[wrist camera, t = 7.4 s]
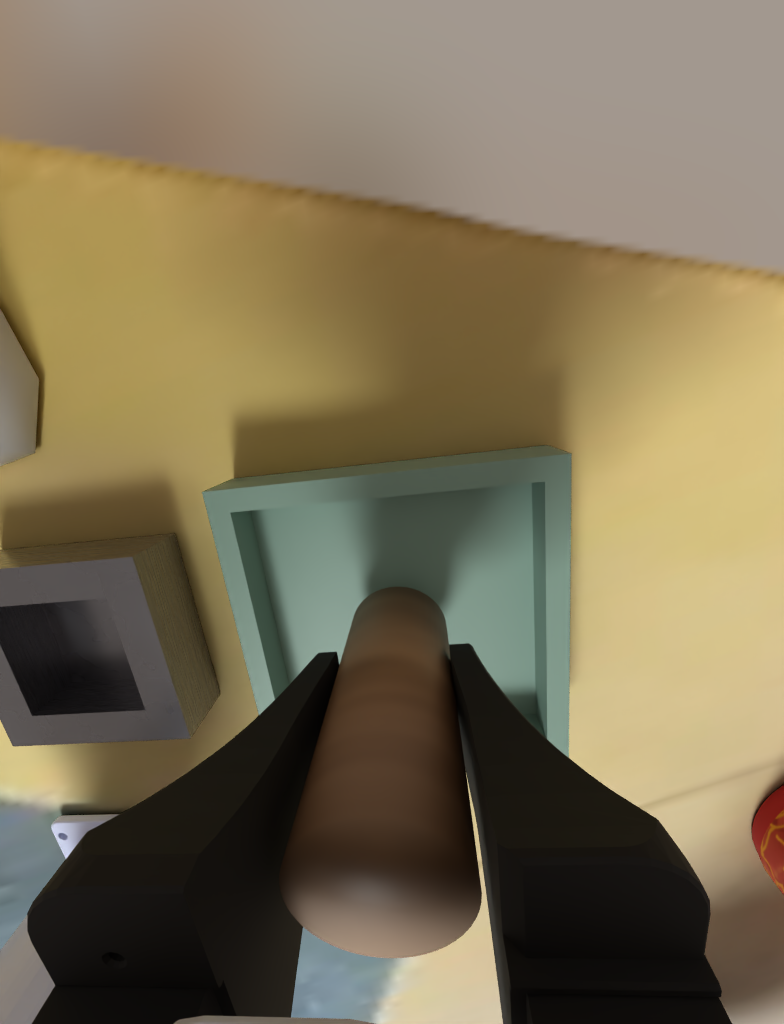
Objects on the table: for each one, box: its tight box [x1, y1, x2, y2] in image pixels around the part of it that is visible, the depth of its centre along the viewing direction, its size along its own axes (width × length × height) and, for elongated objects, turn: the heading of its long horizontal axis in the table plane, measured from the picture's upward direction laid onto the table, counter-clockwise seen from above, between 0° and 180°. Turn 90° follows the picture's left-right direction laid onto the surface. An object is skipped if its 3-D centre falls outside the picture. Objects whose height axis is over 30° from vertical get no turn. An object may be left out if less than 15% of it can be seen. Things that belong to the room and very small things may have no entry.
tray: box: [202, 445, 571, 758], centre depth 15 cm, size 12×12×2 cm
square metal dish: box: [0, 533, 220, 746], centre depth 16 cm, size 8×8×2 cm
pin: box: [279, 587, 482, 958], centre depth 11 cm, size 4×4×8 cm
